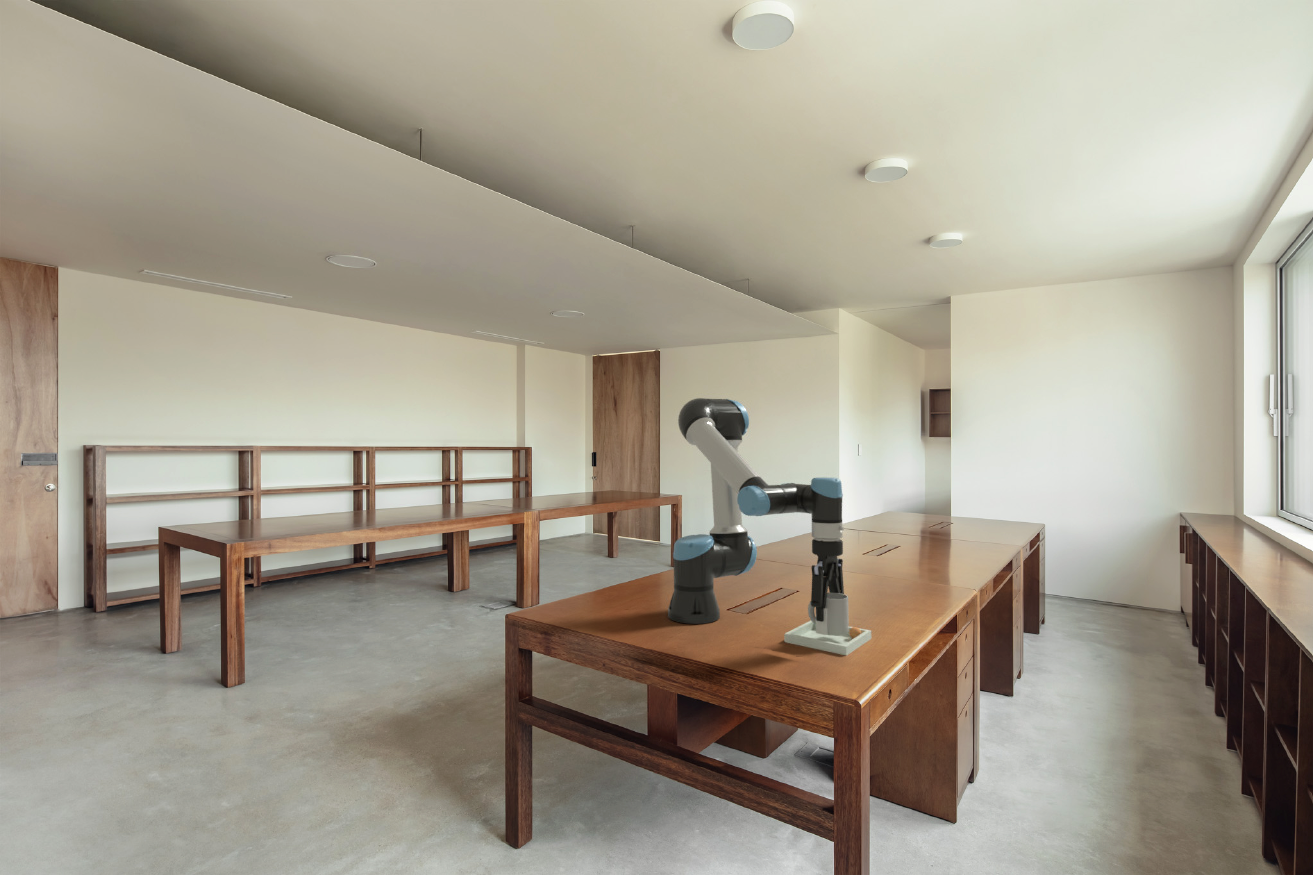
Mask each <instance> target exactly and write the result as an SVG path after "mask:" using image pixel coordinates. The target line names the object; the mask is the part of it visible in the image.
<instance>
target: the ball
mask: <svg viewBox="0 0 1313 875" xmlns="http://www.w3.org/2000/svg"><path fill="white" fill-rule="evenodd" d="M851 627H852V628H851V629H850V630H849V635H850V637H851V638H852V639H854V638H855V637H857V636H859V635H860V634H861V630H860V629H861V628H860V627H857V626H851ZM859 628H860V629H859Z"/></svg>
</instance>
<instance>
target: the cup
mask: <svg viewBox="0 0 1313 875" xmlns="http://www.w3.org/2000/svg"><path fill="white" fill-rule="evenodd" d="M825 608H827V627H828V634H827V635H833V636H842V635H846V634H847V633H848V631H849V627H850V625H849V624H850V623H849V616H850V615H849V596H848V595H847V594H845V593H844V594H840V593H830V592H827V598H826V606H825ZM815 609H816V607H812V606H811V600H809V603H808V606H807V614H808V617H809V621H812V622H813V623H814V624H816V612H815Z"/></svg>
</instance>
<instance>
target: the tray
mask: <svg viewBox="0 0 1313 875" xmlns="http://www.w3.org/2000/svg"><path fill="white" fill-rule="evenodd" d="M852 627H853V626H849V630H850V629H851V628H852ZM858 628H859V629H860V630H861V634H860V635H859V636H857V637H855V638H854V639H852V638H851V637H850V635H849V631H848V633H847V634H846V635H842V636H833V635H823V634H818V633H816V624H814V623H813V622H812V621H811V620H809V621H807V622H805V623H802V624H800V625H799V626H797V627H795V628H793V629H791V630H789V631H787V632H785V633H784V637H783V638H784V642H785V643H786V644H792V645H796V646H801V647H805V648H809V649H814V650H819V651H825V652H829V653H833V654H837V655H840V656H841V655H842V656H849V655H850V654H851V653H852V652H854V651H855V650H857V649H858V648H860V647H861V646H863V645H864V644H866V643H867V642H869V641H870V640H872V630H870V629H865V628H860V627H858Z"/></svg>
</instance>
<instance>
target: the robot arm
mask: <svg viewBox="0 0 1313 875" xmlns="http://www.w3.org/2000/svg"><path fill="white" fill-rule="evenodd" d="M677 422H678V423H677V424H678V427H679V431H680V434H681V435H682V436H683V438H684V439H685V440H686V442H688V444H690V445H692V446H696V448H697V449H698V450H699V452H701V454H702V455H704V457H705V458H706V460H708V462H709V463H710V474H711V493H712V510H713V511H712V512H713V527H712V528H711V529H710V530H709V534H706V533H705V534H704V533H703V534H702V533H701V534H699V533H698V534H690V535H686V536H683V537H682V536H681V537H680V538H677V540H676V541H675V542H674V545H673V553H672V557H673V591H672V592H673V593H672V595H671V598H670V601H669V605H668V608H667V618H668V619H670V620H671V621H673V622H677V623H682V624H690V625H694V624H695V625H698V624H699V625H700V624H708V623H713V622H716V621H718V620H719V619H720V617H721V616H720V615H721V614H720V612H721V611H720V607H719V604H718V601H717V597H716V594H715V590H714V589H715V588H714V579H717V578H723V577H724V578H725V577H729V576H730V577H731V576H739V575H742V574H746V573H747V572H749V571H751V569H752V568H753V567H754V565H755V564H756V560H757V555H758V551H757V546H756V543H755V542H754V539H753V538H752V537H751V536H749V535H748V529H746V528H745V526H744V525H743V518H742V517H743V516H742V514H743V515H745V516H748V517H749V516H750V517H762V516H769V515H780V514H783V515H784V514H792V513H793V514H794V513H802V514H809V515H810V514H811V537H812V539H811V552H812V554H813V555H814V556H817V561H816V565H814V564H813V565H811V567H810V568H811V576H812V577H811V592H810V593H811V594H810V595H811V596H810V601H811V606H812V607H815V617H816V633H818V634H823V635H827V634H828V627H827V608H825V606H826V598H827V593H840V594H845V591H844V590H845V589H844V577H843V575H844V573H843V562H844V561H843V559H842V558H838V557H840V556H842V555H843V553H844V541H843V540H842V538H843V531H844V530H845V527H844V526H843V496H844V494H843V489H842V488H843V487H842V481H841V479H840V478H838V477H824V476H823V477H813V478H812V479H811V481H810V484H803V483H795V482H790V483H789V482H787V483H780V484H770V485H769V484H768V483H767V482H766V481H765V480H764V479H763V478H762V477H761V476H760V475H759V474H758V473H757V471H756V470H755V469H754V468H753V467H752V466H751V465H750V464H749V463H748V462H747V461H746V460H745V458H743V457H742V456H741V454H740V453H739V450H738V449H739V446H740V445H741V443H742V442H743V436H744V435H745V434H746V433H747V432H748V429H749V426H750V417H749V414H748V411H747V409H746V408H745V406H744V405H743V404H742V403H741V402H739V401H737V400H736V399H735V400H732V399H728V398H702V397H698V398H697V397H696V398H692V399H691V400H689V401H687V402H686V403H685V404H683V406H682V408H681V409H680V411H679V415H678V419H677ZM828 591H829V592H828Z"/></svg>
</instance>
